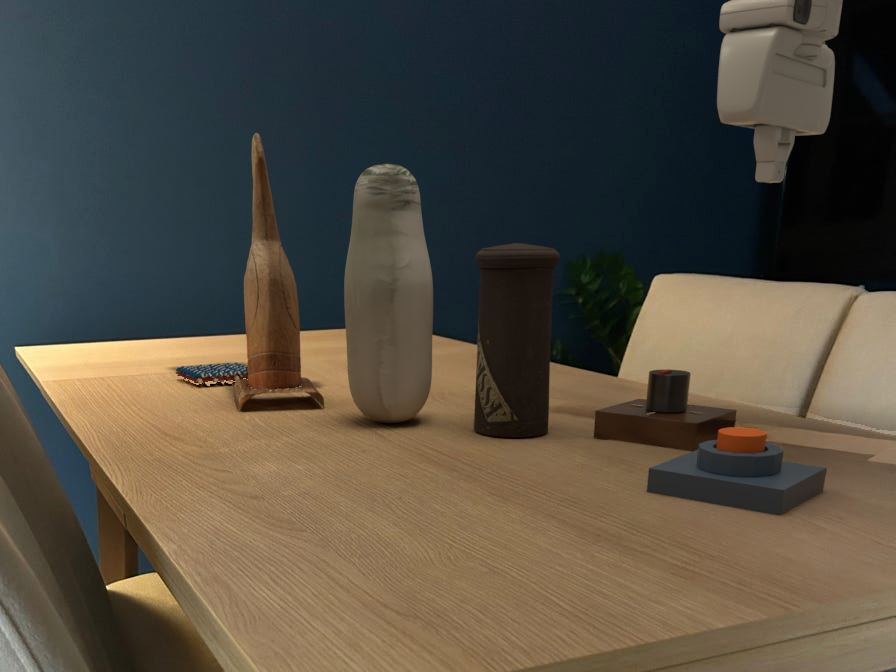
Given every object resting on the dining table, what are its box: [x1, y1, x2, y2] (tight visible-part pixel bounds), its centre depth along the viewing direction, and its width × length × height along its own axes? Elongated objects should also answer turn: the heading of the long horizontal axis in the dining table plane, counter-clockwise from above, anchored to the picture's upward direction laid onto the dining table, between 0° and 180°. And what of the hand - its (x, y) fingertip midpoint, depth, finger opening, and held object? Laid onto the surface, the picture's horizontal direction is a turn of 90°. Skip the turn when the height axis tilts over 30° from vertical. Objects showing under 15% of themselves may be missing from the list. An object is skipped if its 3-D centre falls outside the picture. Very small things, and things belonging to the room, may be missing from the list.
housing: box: [646, 440, 828, 516], centre depth 85 cm, size 12×10×4 cm
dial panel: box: [593, 398, 738, 452], centre depth 107 cm, size 12×10×3 cm
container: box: [473, 242, 561, 438], centre depth 107 cm, size 9×9×20 cm
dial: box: [646, 368, 692, 413], centre depth 106 cm, size 4×4×4 cm
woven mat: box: [175, 361, 248, 384], centre depth 147 cm, size 10×11×2 cm
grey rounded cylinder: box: [343, 163, 434, 424], centre depth 112 cm, size 10×10×28 cm
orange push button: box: [716, 426, 768, 453], centre depth 84 cm, size 4×4×2 cm
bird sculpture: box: [232, 132, 325, 411], centre depth 123 cm, size 11×12×32 cm
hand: (768, 182), depth 95 cm, fingers closed
